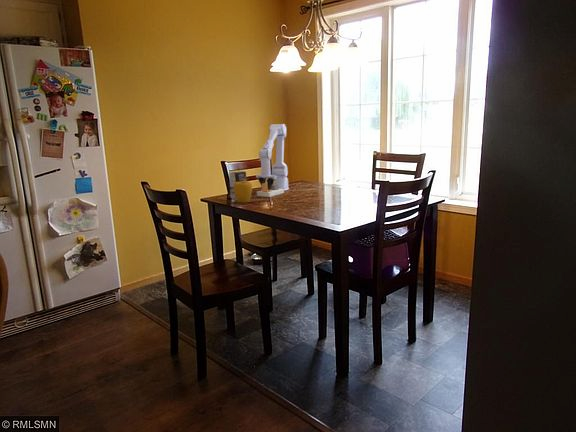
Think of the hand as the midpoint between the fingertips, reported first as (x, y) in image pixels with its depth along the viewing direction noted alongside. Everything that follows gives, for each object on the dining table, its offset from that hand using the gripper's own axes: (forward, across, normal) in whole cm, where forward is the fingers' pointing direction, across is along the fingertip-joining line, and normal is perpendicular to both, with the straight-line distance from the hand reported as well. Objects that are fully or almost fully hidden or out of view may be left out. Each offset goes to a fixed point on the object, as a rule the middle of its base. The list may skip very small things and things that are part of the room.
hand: (266, 189), depth 272 cm
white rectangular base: (+4, 0, +4) cm, 6 cm away
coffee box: (+4, -14, -11) cm, 18 cm away
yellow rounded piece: (+4, -2, -21) cm, 22 cm away
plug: (+1, 0, 0) cm, 1 cm away
